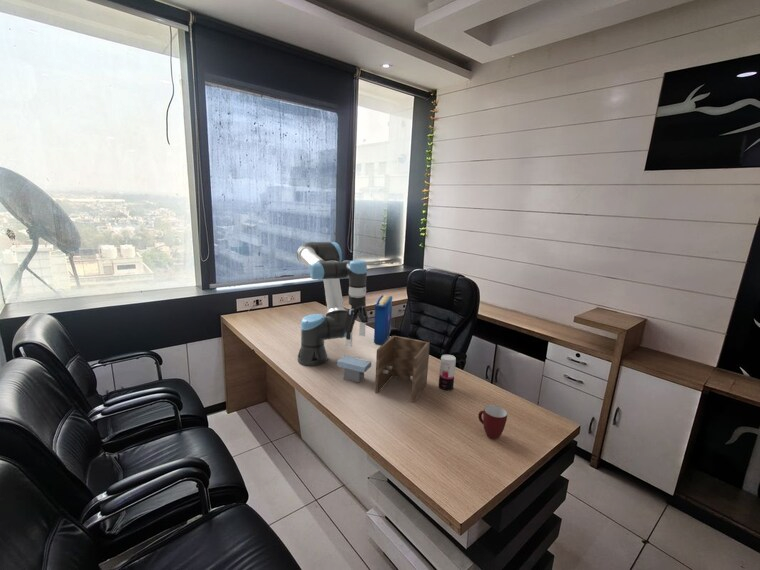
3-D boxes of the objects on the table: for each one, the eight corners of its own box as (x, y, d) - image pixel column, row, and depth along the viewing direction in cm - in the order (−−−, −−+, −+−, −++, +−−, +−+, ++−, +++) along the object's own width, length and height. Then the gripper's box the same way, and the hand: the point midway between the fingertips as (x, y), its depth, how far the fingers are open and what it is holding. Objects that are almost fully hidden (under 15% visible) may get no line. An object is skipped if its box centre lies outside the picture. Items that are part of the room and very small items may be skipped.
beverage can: (445, 393, 157) (448, 361, 154) (435, 386, 163) (438, 356, 159) (456, 389, 161) (459, 358, 157) (446, 383, 166) (448, 353, 163)
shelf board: (337, 366, 165) (337, 361, 165) (344, 360, 171) (344, 355, 171) (364, 372, 160) (364, 367, 159) (371, 366, 166) (371, 361, 166)
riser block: (343, 378, 166) (343, 366, 165) (348, 374, 171) (349, 362, 169) (359, 382, 163) (359, 370, 162) (363, 377, 168) (364, 366, 166)
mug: (470, 431, 131) (473, 407, 129) (482, 423, 136) (484, 399, 134) (497, 446, 123) (500, 420, 121) (508, 436, 129) (511, 411, 127)
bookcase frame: (374, 392, 155) (376, 349, 151) (391, 374, 172) (393, 335, 168) (414, 402, 148) (417, 358, 144) (426, 382, 166) (429, 342, 161)
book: (384, 346, 207) (386, 304, 201) (372, 344, 208) (374, 303, 203) (390, 333, 227) (392, 295, 222) (379, 332, 229) (381, 294, 223)
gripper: (352, 303, 145) (350, 352, 150) (376, 290, 168) (374, 333, 173) (335, 300, 148) (335, 348, 153) (361, 288, 171) (360, 330, 176)
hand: (355, 340), depth 163 cm, fingers open, 13 cm apart
